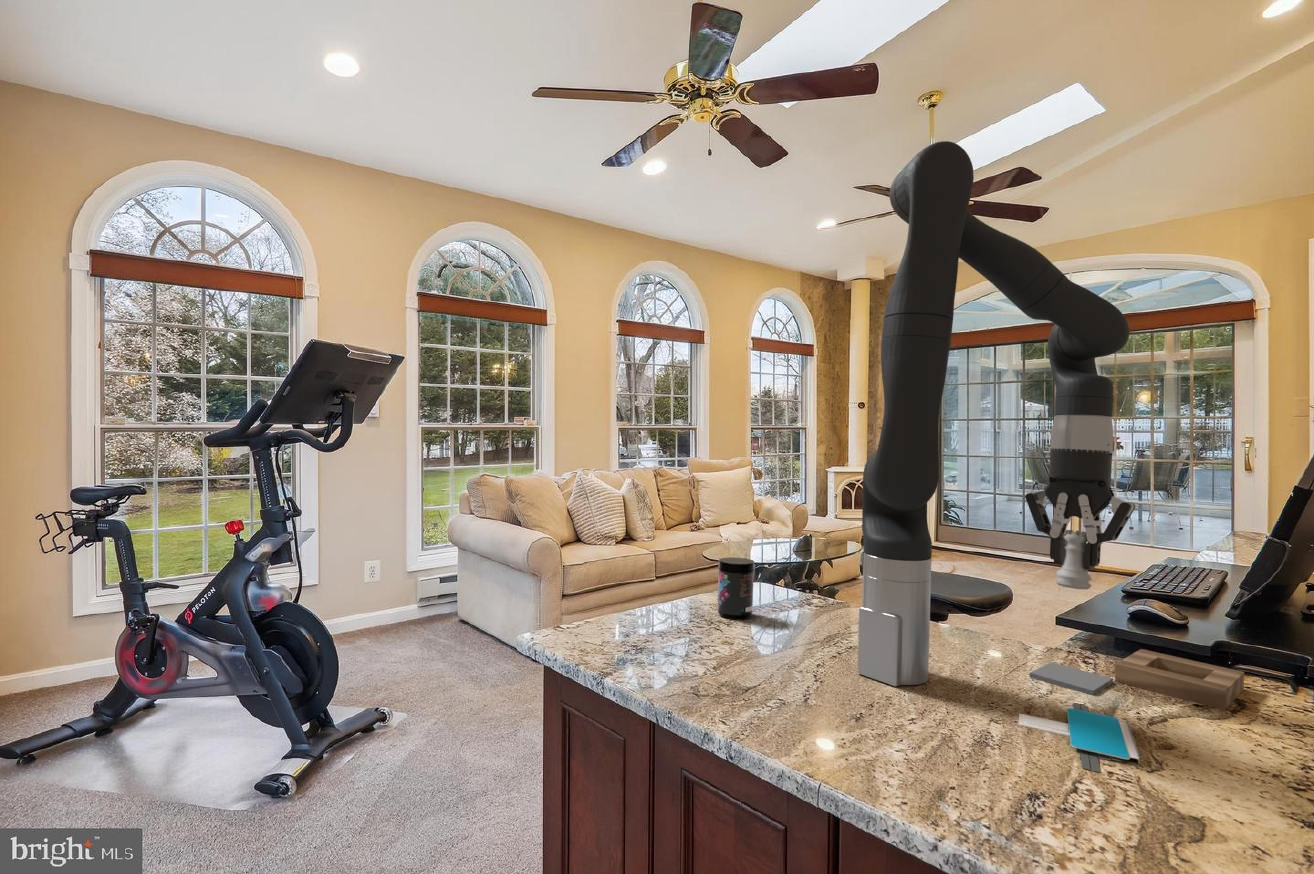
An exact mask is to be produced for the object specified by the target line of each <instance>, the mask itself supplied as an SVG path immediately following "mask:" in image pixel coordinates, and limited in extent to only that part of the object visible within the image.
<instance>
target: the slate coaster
mask: <svg viewBox="0 0 1314 874" xmlns="http://www.w3.org/2000/svg"><path fill="white" fill-rule="evenodd" d="M1028 674H1029V678H1032V679H1036V680H1038V681H1042V682H1046V683H1050V684H1053V685H1056V686H1060V687H1064V688H1067V689H1070V690H1075V691H1077V692H1081V693H1085V694H1088V695H1091V696H1094V695H1096V694H1097V693H1099V692H1101V691H1102V690H1104V689H1105V688H1106V687H1108V686H1110V685H1112V684H1113V683H1114V678H1112V677H1109V676H1106V675H1103V674H1102V675H1101V674H1098V673H1095V672H1094V673H1093V672H1089V671H1086V670H1082V669H1079V668H1074V667H1071V666H1067V665H1064V664H1060V663H1055V662H1051V661H1050V662H1048V663H1046V664H1045V665H1042V666H1041V667H1039V668H1036V669H1034V670H1032V671H1030V672H1029V673H1028Z"/></svg>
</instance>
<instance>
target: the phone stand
mask: <svg viewBox="0 0 1314 874" xmlns="http://www.w3.org/2000/svg"><path fill="white" fill-rule="evenodd" d="M1072 704H1073V705H1072V706H1073V708H1069V707H1068V708H1067V710H1066V713H1067V721H1068V723H1065V722H1062V721H1056V720H1053V719H1048V718H1043V717H1038V716H1033V715H1028V714H1023V713H1019V714H1018V715H1019V716H1018V726H1020V727H1025V728H1029V729H1033V730H1039V731H1043V732H1045V733H1052V734H1057V735H1060V736H1065V737H1069V739H1070V746H1071V747H1073V748H1074V749H1077V750H1078V752H1079V760H1080V762H1081V768H1082V769H1085V770H1090V771H1093V772H1098V773H1101V769H1100V761H1099V760H1100V759H1102V760H1105V761H1110V762H1111V761H1112V760H1115V761H1119V762H1122V763H1126V761H1125V760H1127V761H1128V760H1130V759H1131V758H1132V759H1135V760H1136V761H1137V764H1138V765H1140V762H1141V761H1144V760H1145V759H1143V758H1142V757H1144V756H1143V755H1141V752H1139V751H1140V749H1138V746H1137V745H1136V744H1137V743H1136V741H1135V739H1134V734H1133V733H1134V731H1132V730H1134V728H1132V727H1133V725H1131V726H1130V723H1129V721H1128V719H1126V722H1124V721H1120V720H1119V719H1118V718H1117V717H1114V716H1110V715H1105V714H1100V713H1096V712H1095V713H1094V712H1090V711H1089V706H1088V705H1086V704H1079V703H1076V702H1075V703H1074V702H1073V703H1072ZM1131 728H1132V729H1131ZM1140 755H1141V756H1140ZM1140 758H1142V759H1140Z"/></svg>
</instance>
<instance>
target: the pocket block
mask: <svg viewBox="0 0 1314 874" xmlns="http://www.w3.org/2000/svg"><path fill="white" fill-rule="evenodd" d="M1114 669H1115V670H1114V672H1115V677H1114V678H1115V679H1114V681H1115V682H1117V683H1121V684H1125V685H1129V686H1133V687H1136V688H1139V689H1144V690H1147V691H1151V692H1155V693H1159V694H1162V695H1166V696H1171V697H1174V698H1177V699H1182V700H1185V701H1189V702H1193V703H1196V704H1200V705H1204V706H1208V707H1212V708H1215V709H1219V710H1222V711H1226V709H1227V708H1228V707H1229V706H1230V705H1232V703H1233V702H1234V701H1235V700H1236V699H1237V698H1238V697H1239V696H1240V694H1242V693H1243V691H1245V672H1244V671H1241V670H1236V669H1232V668H1228V667H1223V666H1220V665H1219V666H1218V665H1215V664H1209V663H1205V662H1200V661H1197V660H1196V661H1195V660H1192V659H1189V658H1182V657H1178V656H1174V655H1170V654H1166V653H1160V652H1157V651H1152V650H1148V649H1143V648H1140V649H1138V650H1137V651H1134V652H1133V653H1131V654H1130V655H1128V656H1126V657H1125V658H1123V659H1122V660H1120V661H1118V662H1116V663H1115V668H1114Z"/></svg>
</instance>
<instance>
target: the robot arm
mask: <svg viewBox="0 0 1314 874" xmlns="http://www.w3.org/2000/svg"><path fill="white" fill-rule="evenodd" d="M973 186H974V166H973V163H972V160H971V157H970V156H969V154H968V152H966V150H965V149H964V148H963V147H962V146H960V145H959V144H957V143H955V142H953V141H949V140H947V141H945V140H942V141H937V142H933V143H931V144H930V145H927V146H926V147H925V148H923V149H922V150H920V151H919V152H918V153H916V155H915V156H914V157H912V158H911V160H909V161H908V163H907V164H906V165H905V166H904V167H903V168H902V169H901V170H900V172H898V174H897V175H896V176H895V177H894V179H893V181H892V183H891V185H890V187H889V188H890V189H889V201H890V205H891V207H892V210H893V211H894V212H895V214H896V215H897V216H898V217H899V218H900V220H901V219H902V220H903V222H905V223H906V224H908V231H907V237H906V238H907V239H906V244H905V248H904V252H903V254H902V258H901V260H900V263H899V265H898V269H897V271H896V274H895V276H894V279H893V282H892V285H891V287H890V291H889V294H888V297H887V301H886V303H885V304H886V305H885V311H884V317H883V324H882V330H881V331H882V333H881V342H880V343H881V344H880V366H881V379H882V388H883V396H884V397H883V401H884V402H883V403H884V404H883V405H884V407H883V408H884V409H883V419H882V424H881V431H880V435H879V440H878V445H877V449H876V451H874V452H873V453H872V454H871V455H869V457H868V459H867V460H866V463H865V465H864V468H863V473H862V500H861V501H862V504H861V505H862V507H861V508H862V511H861V513H862V517H861V518H862V519H861V526H862V536H863V565H862V566H863V569H862V596H861V597H862V600H861V601H862V602H861V607H860V608H858V609H859V610H858V635H857V636H858V638H857V639H858V642H857V643H858V644H857V645H858V646H857V671H856V673H857V674H858V675H863V677H867V678H870V679H873V680H876V681H879V682H882V683H885V684H888V685H890V686H893V687H898V686H915V685H916V686H917V685H922V684H925V683H926V682H928V681H929V673H930V672H929V669H930V668H929V667H930V666H929V665H930V662H929V661H930V631H931V630H930V629H931V628H930V625H931V624H930V620H931V593H932V592H931V589H932V588H931V587H932V586H931V585H932V580H931V579H932V555H933V548H932V547H933V542H932V538H931V537H932V536H931V534H930V530H929V522H928V502H929V501H930V500H931V499H932V497H933V496H934V494H935V493H936V491H937V489H938V486H939V479H940V455H939V454H940V449H939V447H940V444H939V443H940V441H939V439H940V438H939V435H940V413H941V405H942V399H943V394H944V389H945V383H946V377H947V376H946V375H947V370H948V362H949V357H950V356H949V355H950V349H951V343H952V342H951V341H952V333H953V323H954V312H955V309H954V308H955V299H956V290H957V282H958V272H959V271H958V269H959V260H961V261H963V262H964V263H966V264H967V265H969V266H970V267H971V268H973V269H974V270H975V272H977V273H979V274H980V275H982V277H983V278H985V279H986V280H987V281H989V282H990V283H991V284H992V285H993V286H994V287H995V288H996V289H998V291H1000V292H1001V293H1002V295H1004V296H1005V297H1006V298H1007V299H1008V300H1009V301H1010V302H1011V303H1012V304H1013V305H1014V306H1015V307H1017V308H1018V309H1019V310H1020V311H1021V312H1022V313H1023V314H1024V315H1026V316H1027V317H1029V318H1030V319H1033V320H1035V321H1036V320H1037V321H1048V322H1051V323H1053V324H1054V325H1053V326H1052V328H1051V330H1050V333H1049V336H1048V341H1047V352H1048V354H1047V355H1048V360H1049V365H1050V367H1051V368H1050V369H1051V374H1052V377H1053V382H1054V386H1055V399H1054V417H1053V422H1052V427H1051V432H1050V448H1049V451H1050V452H1049V465H1048V466H1049V467H1048V483H1047V484H1046V486H1045V487H1044V489H1043V490H1041V491H1037V492H1029V493H1026V494H1025V501H1026V503H1027V506H1028V508H1029V511H1030V514H1031V517H1032V520H1033V522H1034V524H1035V527H1036V529H1037V531H1038V532H1040V533H1044V534H1046V535H1048V537H1050V542H1049V543H1050V545H1049V557H1050V559H1051V560H1053V564H1055V565H1060V566H1062V564H1063V560H1064V556H1065V548H1064V546H1065V545H1066V541H1065V540H1064V538H1063V537H1062V536H1063V535H1064V534H1065V533H1066V530H1068V529H1067V528H1068V525H1069V524H1070V522H1071V519H1072V517H1076V518H1079V519H1082V523H1083V527H1084V528H1085V532H1086V536H1087V540H1088V541H1087V542H1086V543H1085V556H1084V569H1087V570H1088V571H1092V570H1095V567H1098V566H1099V565H1100V563H1101V551H1102V550H1101V548H1102V544H1103V543H1105V542H1111V541H1116V540H1118V538H1119V536H1120V535H1121V534H1122V531H1123V529H1124V527H1126V525H1127V523H1128V521H1129V519H1130V517H1131V515H1132V514H1133V513H1134V511H1135V509H1136V504H1135V503H1133V502H1132V501H1125V500H1123V499H1121V498H1119V497H1116V496H1115V493H1114V491H1113V489H1112V485H1111V482H1112V480H1111V479H1112V470H1113V469H1112V467H1113V466H1112V464H1113V451H1114V450H1113V449H1114V447H1115V442H1114V426H1113V425H1114V424H1113V411H1114V410H1113V408H1114V384H1113V381H1112V380H1111V378H1109V377H1106V376H1104V375H1099V374H1098V370H1097V366H1096V358H1102V357H1103V358H1104V357H1107V356H1110V355H1113V354H1115V353H1116V354H1117V352H1119V351H1120V350H1122V349H1123V348H1124V347H1125V345H1126V344H1127V343H1128V341H1129V337H1130V327H1129V323H1128V320H1127V318H1126V317H1125V315H1124V314H1123V313H1122V311H1121V310H1120V309H1119V308H1117V306H1116V305H1114V304H1113V303H1112V302H1109V301H1108V300H1106V299H1105V298H1104V297H1102V296H1100V295H1098V294H1097V293H1094V292H1092V291H1091V290H1089V289H1087V288H1086V287H1084V286H1081V285H1079V284H1078V283H1075V282H1073V281H1072V280H1071V279H1069V278H1068V277H1067V276H1066V275H1065V274H1064V273H1063V272H1062V270H1060V269H1059V268H1058V266H1055V265H1054V263H1053V262H1051V261H1050V260H1049V259H1048V258H1047V257H1046V256H1045V255H1044V254H1042V253H1041V252H1040V251H1039V250H1038V249H1036V248H1035V247H1032V246H1031V245H1029V244H1027V243H1026V242H1024V241H1022V240H1020V239H1018V238H1016V237H1014V236H1011V235H1009V234H1006V233H1004V232H1003V231H1000V230H998V229H996V228H994V227H993V226H990V225H989V224H987V223H985V222H984V221H982V220H980V219H979V218H977V217H976V216H975V215H974V214H973V213H971V212H970V211H969V210H968V209H969V207H970V206H969V205H970V200H971V197H972V192H973ZM1047 499H1048V501H1049V502H1050V503H1051V504H1052V506H1053V508H1054V509H1055V510H1054V514H1053V517H1052V519H1051V520H1052V522H1051V521H1050V519H1049V516H1048V513H1047V510H1046V508H1045V505H1046V504H1047ZM1109 505H1111V510H1110V511H1111V513H1113V516H1112V518H1111V519H1110V521H1109V523H1108V525H1107V526H1106V528H1105V530H1104V532H1102V519H1101V513H1102V512H1103V511H1104V510H1105V509H1106V508H1107V507H1108V506H1109ZM1051 523H1052V524H1051Z"/></svg>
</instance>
